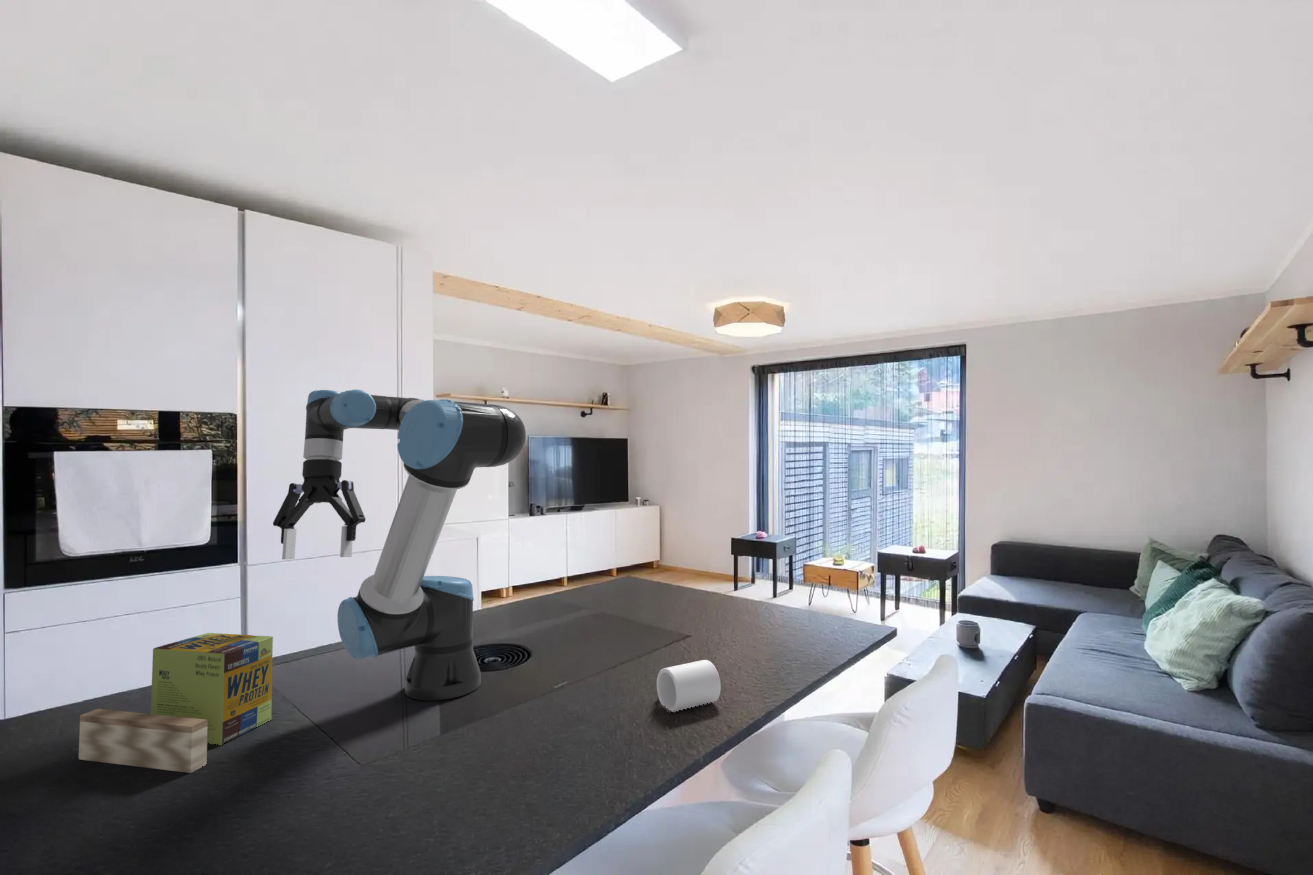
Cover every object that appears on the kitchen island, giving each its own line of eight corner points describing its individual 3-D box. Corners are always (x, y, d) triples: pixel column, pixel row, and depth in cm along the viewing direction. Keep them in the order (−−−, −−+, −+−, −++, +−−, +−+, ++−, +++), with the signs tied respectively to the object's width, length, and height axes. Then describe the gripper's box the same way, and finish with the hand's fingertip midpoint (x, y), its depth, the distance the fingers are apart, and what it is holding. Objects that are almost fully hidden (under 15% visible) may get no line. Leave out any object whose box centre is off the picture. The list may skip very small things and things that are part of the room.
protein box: (222, 746, 102) (224, 653, 102) (148, 738, 105) (150, 647, 106) (273, 720, 112) (275, 635, 113) (204, 713, 115) (206, 631, 116)
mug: (721, 707, 117) (721, 666, 117) (677, 719, 112) (677, 675, 112) (687, 687, 127) (687, 649, 128) (646, 697, 122) (646, 657, 122)
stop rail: (206, 764, 96) (207, 719, 96) (190, 772, 93) (191, 726, 93) (96, 751, 100) (97, 708, 100) (78, 759, 97) (80, 715, 98)
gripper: (384, 459, 136) (380, 555, 132) (284, 465, 139) (277, 559, 135) (364, 454, 128) (359, 556, 125) (259, 461, 132) (251, 560, 128)
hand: (316, 558), depth 130 cm, fingers open, 13 cm apart
